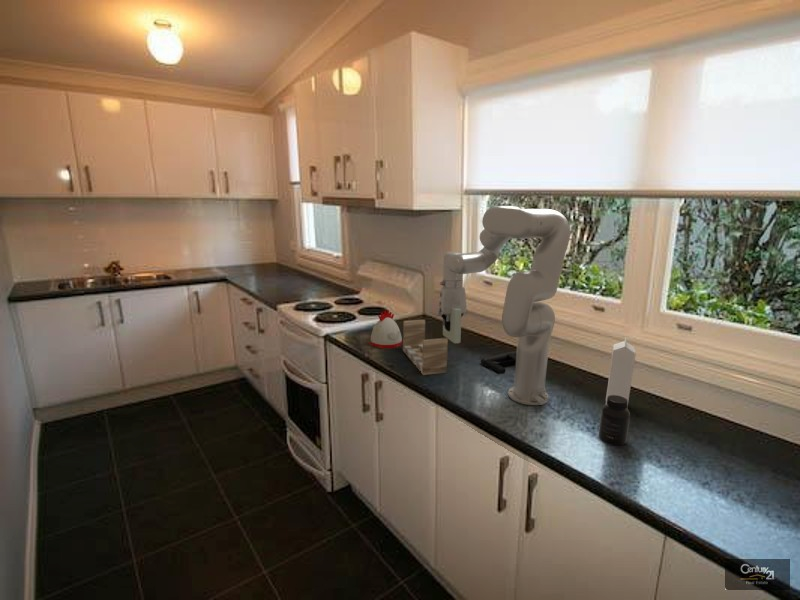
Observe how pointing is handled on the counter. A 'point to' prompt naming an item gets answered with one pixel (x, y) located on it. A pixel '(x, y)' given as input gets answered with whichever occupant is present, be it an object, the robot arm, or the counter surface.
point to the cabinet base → (424, 348)
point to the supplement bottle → (614, 421)
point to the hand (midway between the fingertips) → (451, 329)
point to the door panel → (454, 326)
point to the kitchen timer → (386, 332)
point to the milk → (621, 370)
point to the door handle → (499, 367)
